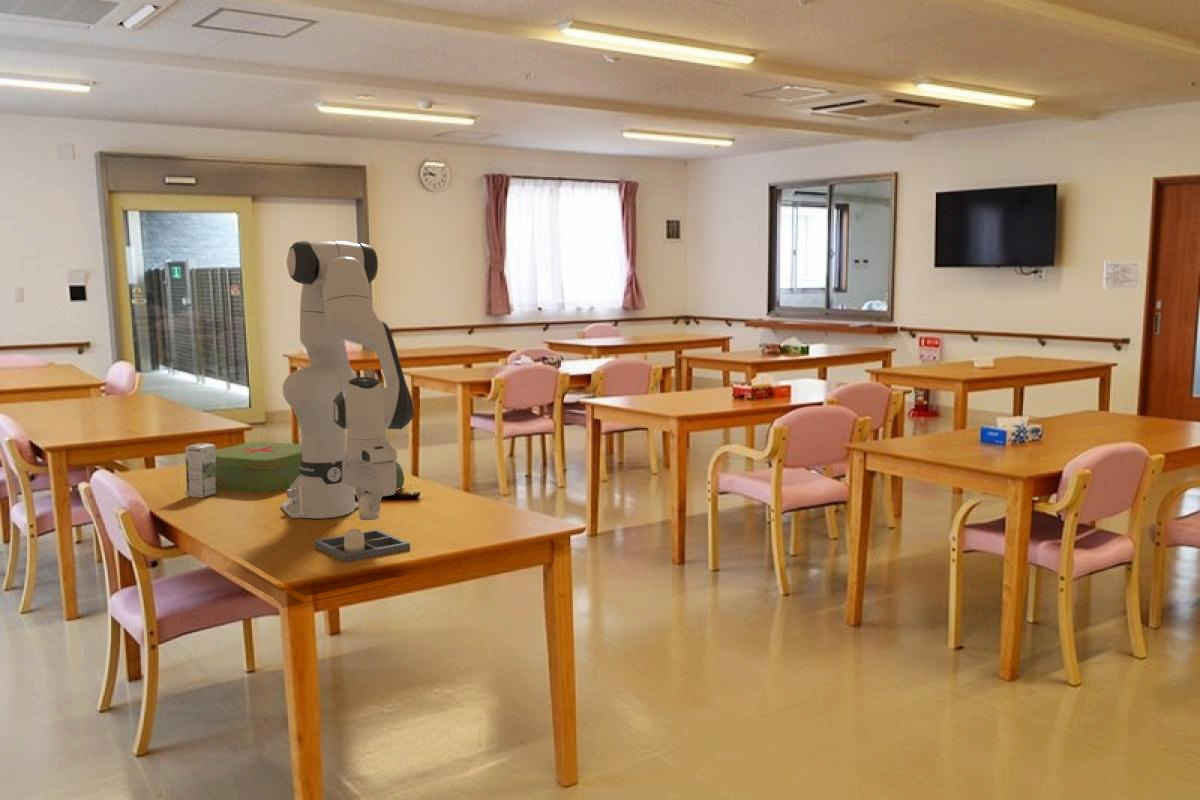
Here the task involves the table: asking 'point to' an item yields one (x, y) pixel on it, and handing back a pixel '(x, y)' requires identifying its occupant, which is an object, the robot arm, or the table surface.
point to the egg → (367, 508)
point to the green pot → (399, 475)
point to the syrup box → (201, 470)
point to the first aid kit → (258, 467)
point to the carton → (374, 546)
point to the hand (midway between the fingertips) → (368, 508)
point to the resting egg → (354, 541)
